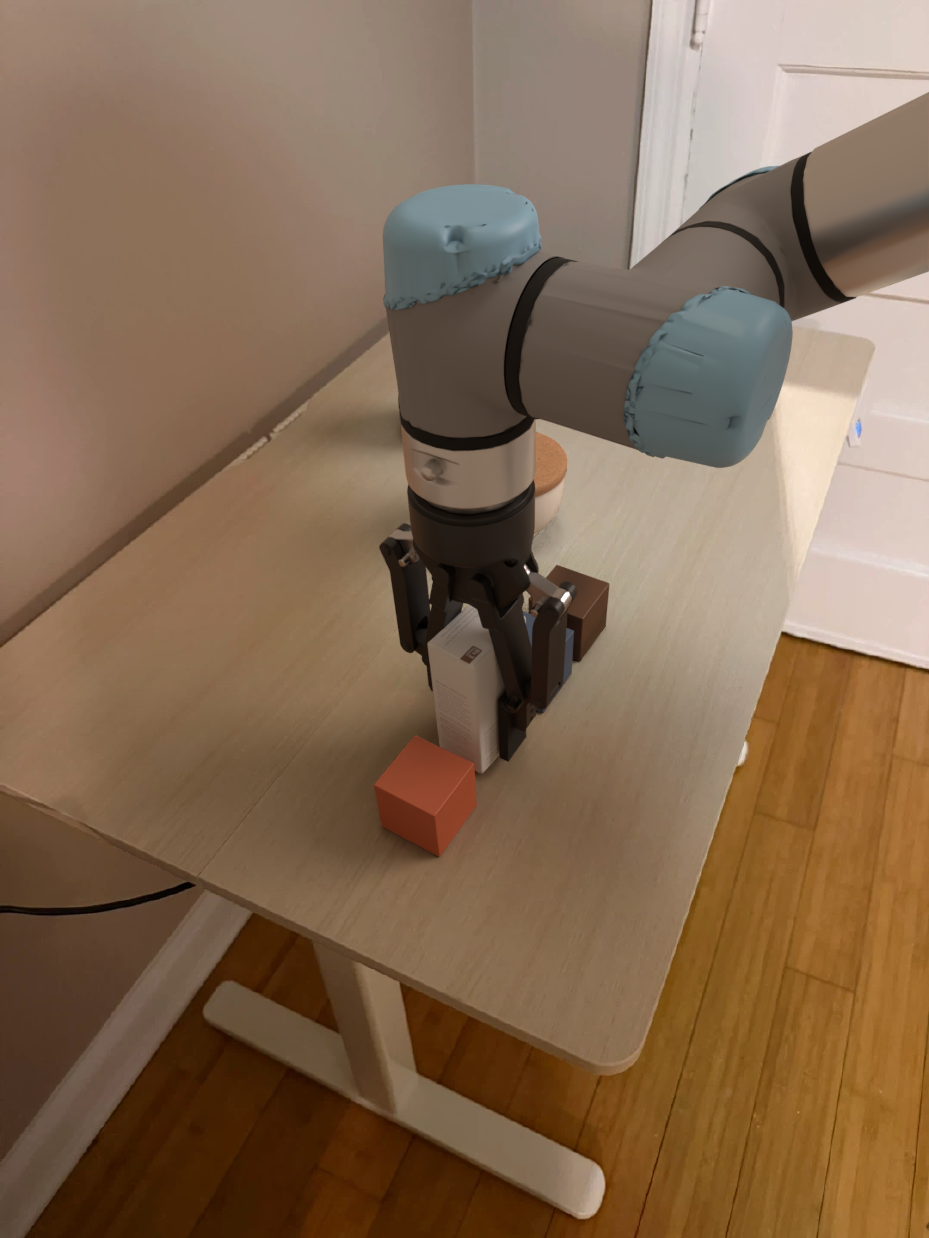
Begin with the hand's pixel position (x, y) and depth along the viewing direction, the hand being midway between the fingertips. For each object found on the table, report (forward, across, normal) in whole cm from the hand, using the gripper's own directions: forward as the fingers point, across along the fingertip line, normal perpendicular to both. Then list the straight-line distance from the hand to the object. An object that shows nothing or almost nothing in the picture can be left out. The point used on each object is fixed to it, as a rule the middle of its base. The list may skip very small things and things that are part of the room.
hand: (482, 733), depth 68 cm
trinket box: (+2, -12, +25) cm, 28 cm away
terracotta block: (+1, 0, -8) cm, 8 cm away
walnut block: (+1, 0, +14) cm, 14 cm away
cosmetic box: (+1, 0, 0) cm, 1 cm away
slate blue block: (+1, 0, +8) cm, 8 cm away
